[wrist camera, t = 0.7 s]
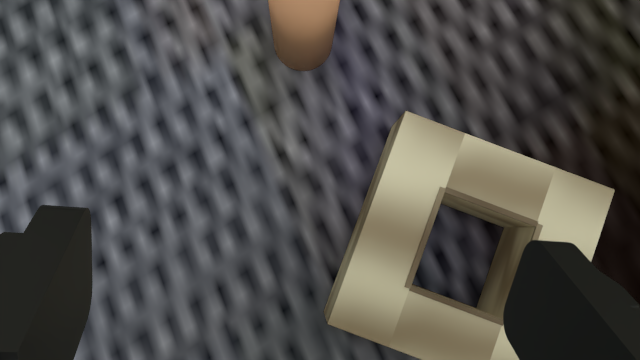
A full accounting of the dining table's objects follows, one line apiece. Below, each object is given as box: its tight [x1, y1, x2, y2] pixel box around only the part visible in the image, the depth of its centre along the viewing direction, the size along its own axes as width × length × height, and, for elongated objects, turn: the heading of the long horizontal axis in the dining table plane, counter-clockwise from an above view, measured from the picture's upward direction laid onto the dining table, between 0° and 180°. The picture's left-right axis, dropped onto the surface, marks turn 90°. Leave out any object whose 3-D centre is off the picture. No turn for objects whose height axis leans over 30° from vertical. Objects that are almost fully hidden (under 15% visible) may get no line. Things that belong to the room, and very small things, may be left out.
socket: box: [324, 111, 615, 360], centre depth 35 cm, size 12×12×5 cm
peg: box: [268, 0, 340, 71], centre depth 32 cm, size 4×4×12 cm
